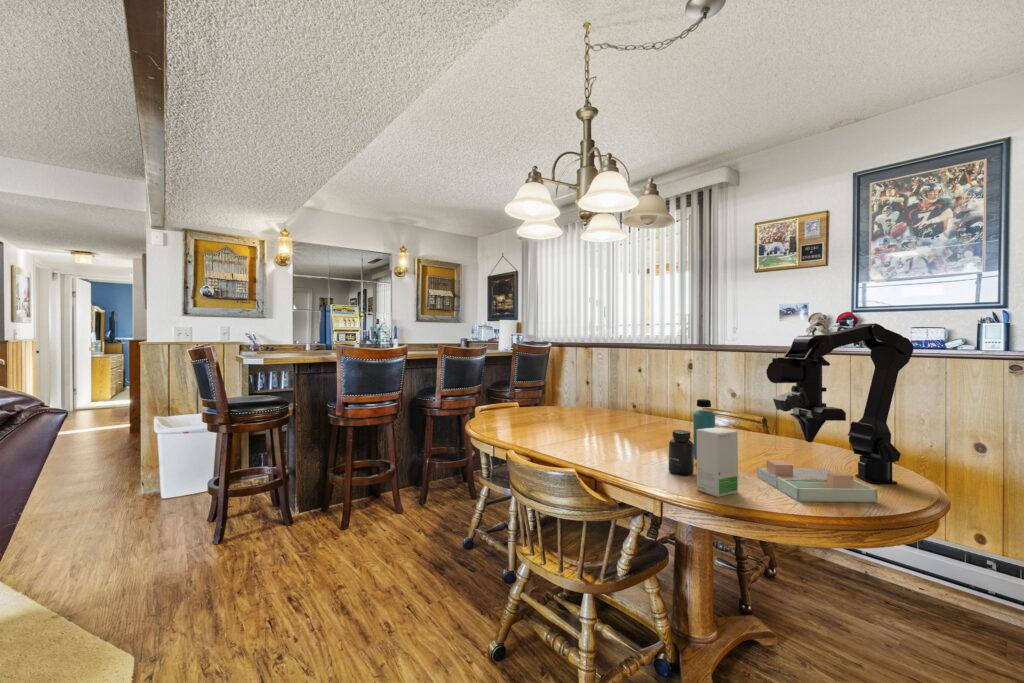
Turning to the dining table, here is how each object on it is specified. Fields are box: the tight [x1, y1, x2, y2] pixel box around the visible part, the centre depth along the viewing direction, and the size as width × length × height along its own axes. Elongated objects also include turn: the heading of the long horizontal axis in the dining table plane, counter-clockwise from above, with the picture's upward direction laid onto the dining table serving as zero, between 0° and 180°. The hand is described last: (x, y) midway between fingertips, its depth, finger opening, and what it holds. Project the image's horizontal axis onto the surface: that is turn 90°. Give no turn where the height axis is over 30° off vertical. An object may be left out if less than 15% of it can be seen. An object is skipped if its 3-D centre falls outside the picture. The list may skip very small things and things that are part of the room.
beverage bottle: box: [692, 398, 716, 461], centre depth 133 cm, size 6×7×20 cm
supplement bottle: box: [668, 429, 695, 477], centre depth 125 cm, size 7×7×12 cm
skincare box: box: [696, 427, 739, 498], centre depth 110 cm, size 8×7×16 cm
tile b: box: [766, 459, 794, 474], centre depth 117 cm, size 4×4×2 cm
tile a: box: [827, 471, 854, 489], centre depth 107 cm, size 4×4×2 cm
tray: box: [776, 477, 878, 504], centre depth 106 cm, size 18×9×3 cm, turn 87°
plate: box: [756, 466, 835, 489], centre depth 116 cm, size 18×10×2 cm, turn 87°
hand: (808, 441), depth 114 cm, fingers closed
